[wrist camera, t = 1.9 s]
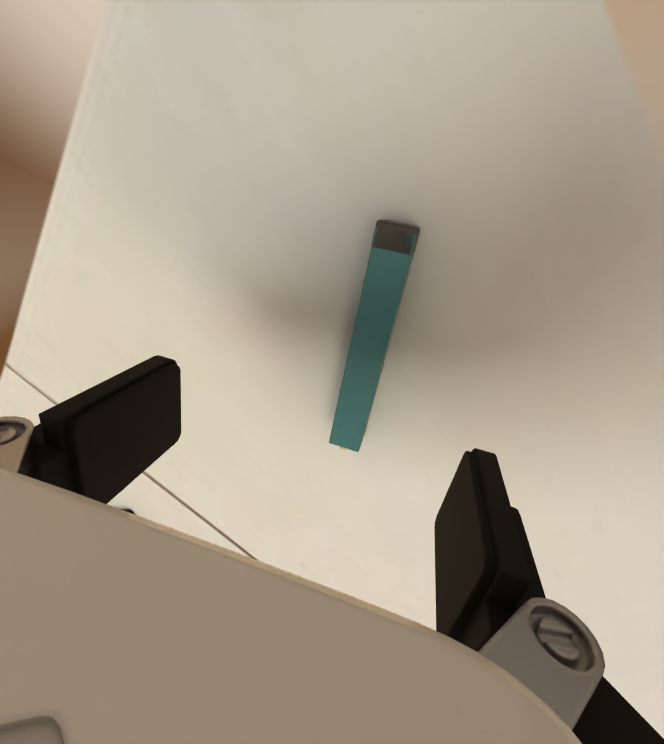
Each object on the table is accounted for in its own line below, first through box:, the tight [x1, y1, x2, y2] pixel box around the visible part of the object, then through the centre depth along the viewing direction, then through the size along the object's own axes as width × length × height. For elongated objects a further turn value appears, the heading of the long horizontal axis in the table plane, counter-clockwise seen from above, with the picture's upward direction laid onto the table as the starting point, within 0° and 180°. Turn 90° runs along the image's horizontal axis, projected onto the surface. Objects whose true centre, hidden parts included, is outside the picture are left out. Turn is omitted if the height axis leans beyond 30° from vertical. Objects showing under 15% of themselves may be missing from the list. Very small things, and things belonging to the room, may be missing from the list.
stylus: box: [329, 220, 420, 452], centre depth 19 cm, size 13×2×2 cm, turn 169°
